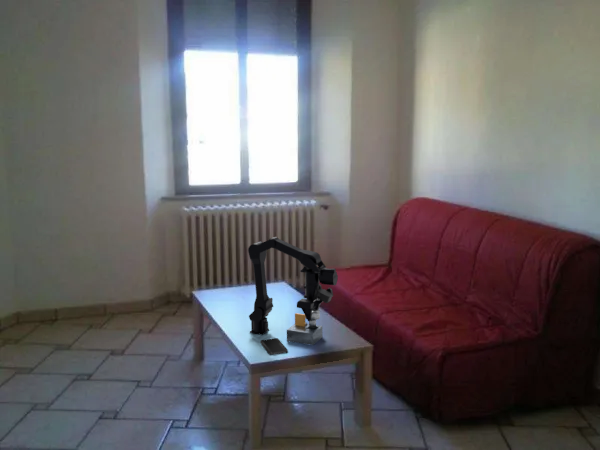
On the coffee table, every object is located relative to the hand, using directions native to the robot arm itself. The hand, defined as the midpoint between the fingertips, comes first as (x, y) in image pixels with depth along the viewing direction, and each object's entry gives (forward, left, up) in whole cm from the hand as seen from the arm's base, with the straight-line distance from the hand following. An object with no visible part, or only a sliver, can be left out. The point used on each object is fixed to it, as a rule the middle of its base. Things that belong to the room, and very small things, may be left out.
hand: (312, 318), depth 246 cm
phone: (-11, -15, -9) cm, 20 cm away
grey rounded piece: (0, 0, -4) cm, 4 cm away
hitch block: (-3, -2, -9) cm, 9 cm away
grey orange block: (-6, 0, -4) cm, 7 cm away
